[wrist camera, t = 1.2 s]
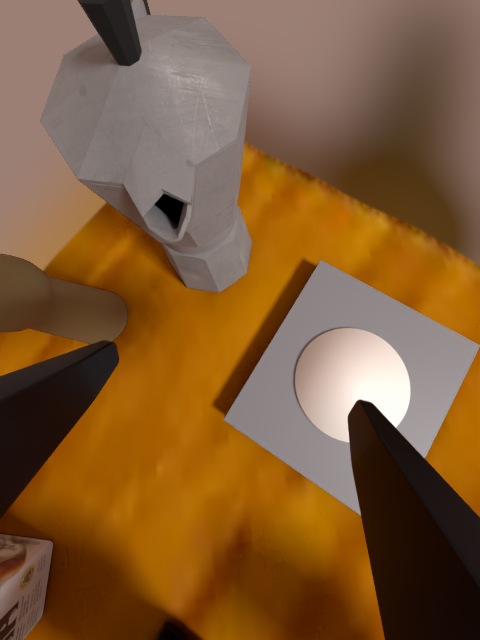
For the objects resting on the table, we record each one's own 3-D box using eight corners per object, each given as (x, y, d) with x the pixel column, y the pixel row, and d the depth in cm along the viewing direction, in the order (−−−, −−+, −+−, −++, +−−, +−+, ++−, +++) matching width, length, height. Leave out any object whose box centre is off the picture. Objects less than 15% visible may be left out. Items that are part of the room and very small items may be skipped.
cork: (76, 350, 23) (-79, 345, 12) (73, 296, 24) (-73, 249, 13) (130, 339, 23) (21, 325, 12) (124, 285, 24) (19, 229, 13)
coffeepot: (266, 300, 23) (314, 111, 5) (180, 320, 23) (-63, 207, 5) (235, 176, 25) (194, -236, 8) (158, 195, 26) (-56, -161, 8)
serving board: (377, 520, 19) (389, 536, 17) (225, 415, 21) (223, 420, 20) (464, 346, 21) (482, 345, 19) (316, 266, 23) (321, 259, 21)
